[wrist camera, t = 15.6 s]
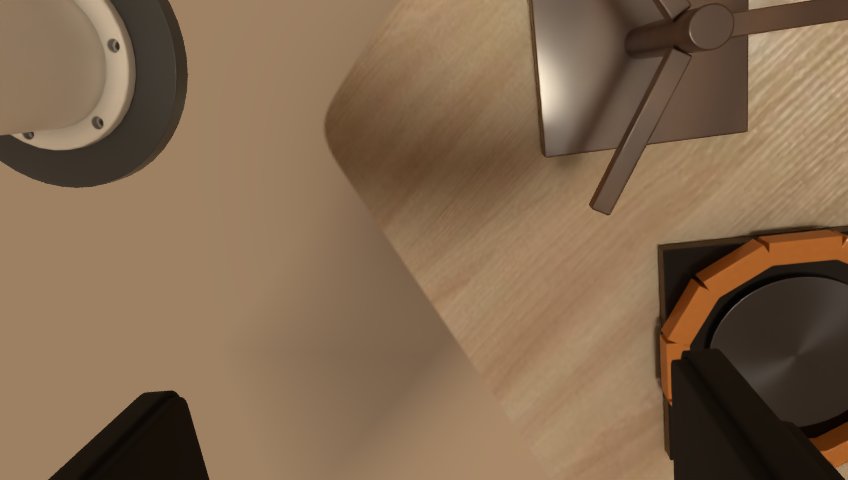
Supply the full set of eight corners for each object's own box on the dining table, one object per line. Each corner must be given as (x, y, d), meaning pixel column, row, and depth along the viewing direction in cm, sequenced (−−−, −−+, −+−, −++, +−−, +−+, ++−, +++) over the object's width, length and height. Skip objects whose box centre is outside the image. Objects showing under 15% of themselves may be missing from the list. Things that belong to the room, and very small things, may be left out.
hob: (665, 450, 42) (672, 465, 40) (657, 245, 37) (665, 252, 36) (902, 437, 39) (920, 452, 38) (922, 217, 35) (944, 224, 34)
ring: (664, 463, 41) (670, 477, 39) (655, 247, 36) (662, 254, 35) (916, 450, 38) (932, 464, 37) (938, 217, 34) (959, 223, 33)
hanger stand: (545, 182, 37) (572, 231, 25) (522, -79, 33) (541, -166, 21) (785, 153, 35) (937, 191, 23) (791, -129, 31) (982, -258, 19)
